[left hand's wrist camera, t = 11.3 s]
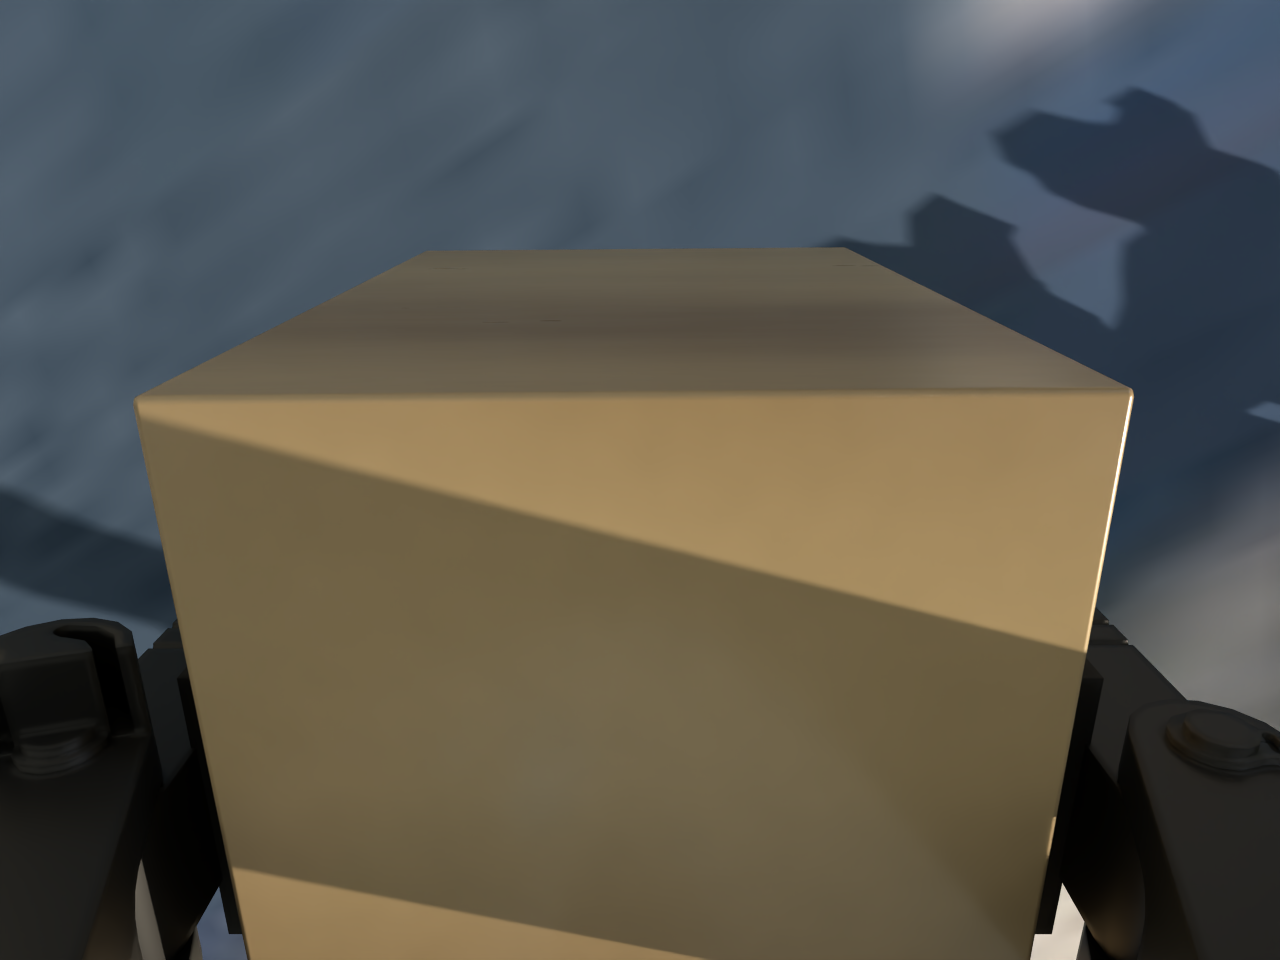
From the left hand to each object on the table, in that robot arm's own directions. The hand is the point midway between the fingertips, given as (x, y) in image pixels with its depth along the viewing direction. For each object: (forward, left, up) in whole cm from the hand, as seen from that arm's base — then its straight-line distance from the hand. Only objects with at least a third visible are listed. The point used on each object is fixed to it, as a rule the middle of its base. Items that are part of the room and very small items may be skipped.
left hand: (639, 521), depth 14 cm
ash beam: (+8, +12, 0) cm, 14 cm away
